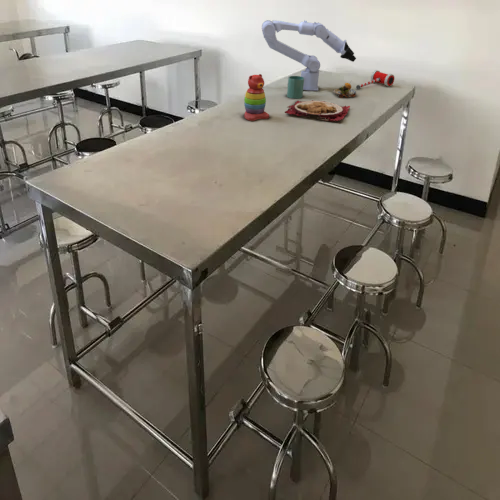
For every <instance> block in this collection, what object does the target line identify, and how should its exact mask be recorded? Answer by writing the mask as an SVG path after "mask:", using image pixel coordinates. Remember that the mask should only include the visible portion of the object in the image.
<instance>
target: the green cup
mask: <svg viewBox="0 0 500 500" xmlns="http://www.w3.org/2000/svg"><path fill="white" fill-rule="evenodd" d="M303 87H304V77H301V75H289V76H288V78H287V90H286V97H287V98H289V99H297V100H298V99H302V98H303V96H304V90H303Z"/></svg>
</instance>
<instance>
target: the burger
mask: <svg viewBox="0 0 500 500" xmlns="http://www.w3.org/2000/svg"><path fill="white" fill-rule="evenodd" d="M350 82H352V80H351V81H350ZM350 82H345V83H344V84H343V85H342V86H340V87H339V88H334V89H332V92H333V93H334V94H336V95H338V97H339V98H344V97H345V98H351V97H352V98H354V97H355V96H356V94H357V91H356V90H355V89H352V85H351V83H350Z"/></svg>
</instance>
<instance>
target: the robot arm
mask: <svg viewBox="0 0 500 500" xmlns="http://www.w3.org/2000/svg"><path fill="white" fill-rule="evenodd" d="M261 31H262V35H263V38H264V40H265V42H266V44H267V45H268V48H270V49H271V50H273V51H275V52H277V53H280V54H281V55H284V56H286V57H288V58H289V59H290V60H294V61H295V62H297V63H299V64H301V65H302V66H304V67H305V69H304V70H301V72H300V76H301V77H304V87H303V91H315V92H318V91H319V79H320V77H319V76H320V69H321V62H320V61H319V59H318V57H317V56H315V55H310V54H308V53H304V52H302V51H300V50H298V49H296V48H294V47H292V46H290V45H288V44H286V43H284V42H281V41H280V40H278V39H277V35H276V33H280V32H281V31H291V32H292V31H293V32H298V33H299V35H304V36H311V37H312V36H316V38H318V39H321V40H322V42H323V43H325V44H326V45H327V46H329V47H330V48H331V49H332V50H334V51H335V53H336V54H340V58H341V59H344V60H345V59H346V60H348V61H350V62H352V63H354V62H355V61H356V59H357V57H356V56H355V52H354V51H353V49H352V48H350V46H349V44H348V42H347V39H344V40H342V39H341V38H340V37H338V35H336V34H335V33H334V32H333V31H331V30H329V29H328V28H327V27H326V26H325V25H324V24H323V23H321V22H316V21H314V22H308V21H307V20H305V19H304V21H300V22H299V23H296V22H289V21H282V20H277V19H276V20H275V19H273V20H271V19H270V20H269V19H268V20H267V19H266V20H264V21H263V23H262V24H261Z"/></svg>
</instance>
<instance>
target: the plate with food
mask: <svg viewBox="0 0 500 500" xmlns="http://www.w3.org/2000/svg"><path fill="white" fill-rule="evenodd" d="M286 108H287V110H285V111H284V114H288V115H294V116H297V117H301V116H302V117H309V115H314V116H315V115H316V116H318V120H319V121H321V120H322V121H325V122H332V123H333V122H338V121H343V120H344V118H345V116H347V114H348V112H349V111H350V108H351V106H350V105H347V106H346V105H343V106H341V105H338V104H336V103H334V102H328V101H325V100H313V99H312V100H304V101H300V100H297V101H296V102H295V103H294V104H291V105H288V106H287V107H286Z"/></svg>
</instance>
